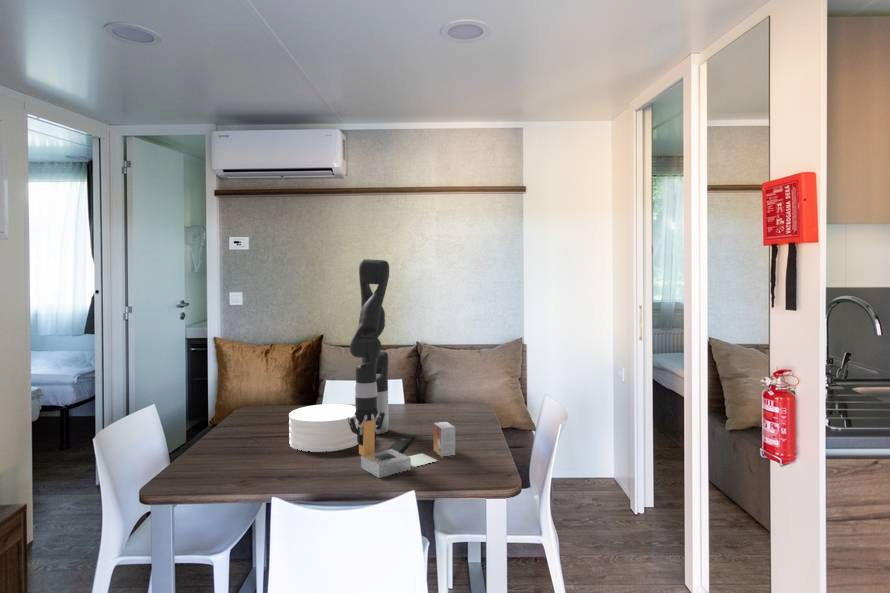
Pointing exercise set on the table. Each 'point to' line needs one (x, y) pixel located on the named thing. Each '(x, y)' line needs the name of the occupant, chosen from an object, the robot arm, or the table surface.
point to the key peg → (368, 438)
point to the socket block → (385, 463)
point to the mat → (421, 460)
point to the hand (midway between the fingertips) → (366, 443)
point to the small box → (444, 439)
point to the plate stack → (322, 428)
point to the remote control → (402, 443)
